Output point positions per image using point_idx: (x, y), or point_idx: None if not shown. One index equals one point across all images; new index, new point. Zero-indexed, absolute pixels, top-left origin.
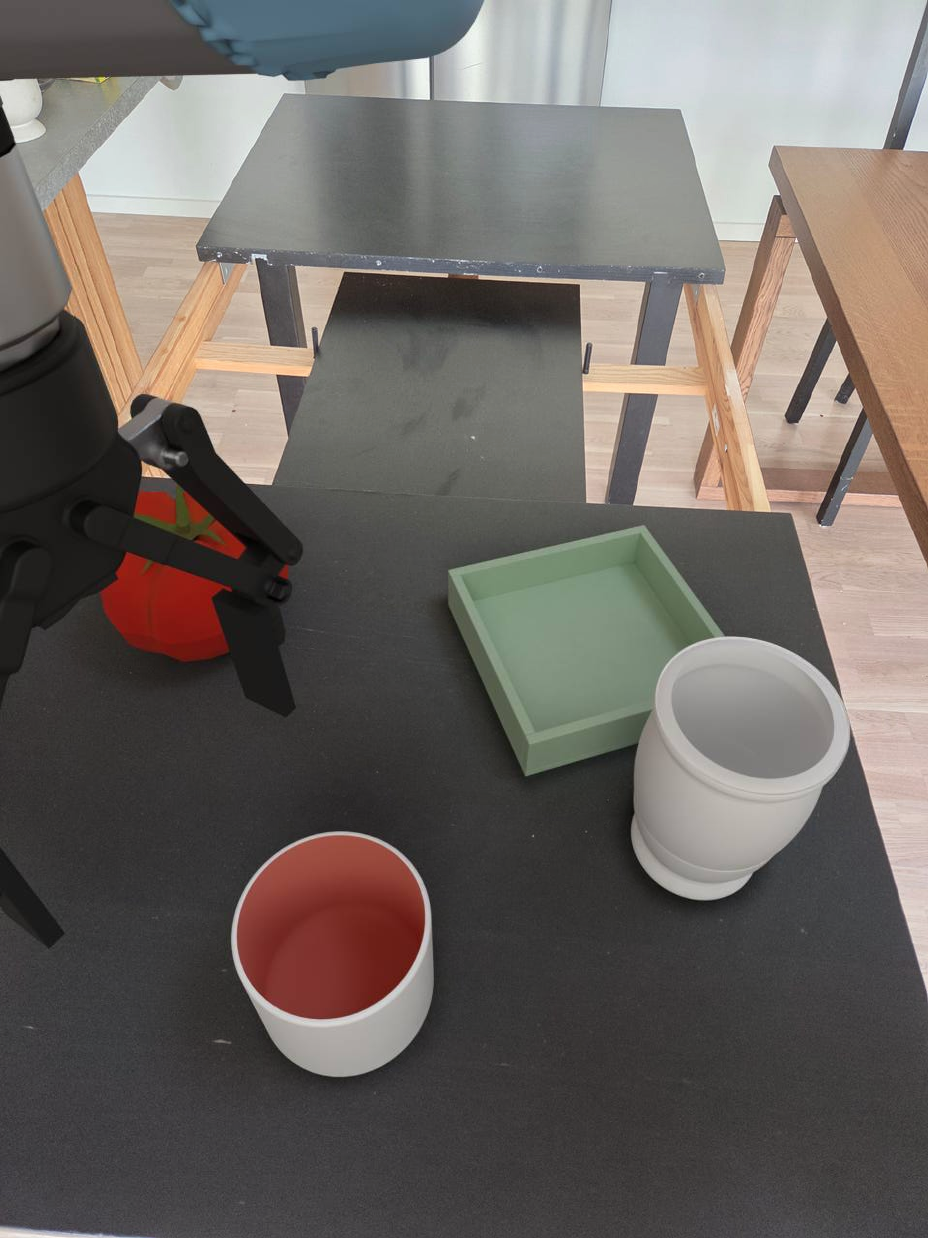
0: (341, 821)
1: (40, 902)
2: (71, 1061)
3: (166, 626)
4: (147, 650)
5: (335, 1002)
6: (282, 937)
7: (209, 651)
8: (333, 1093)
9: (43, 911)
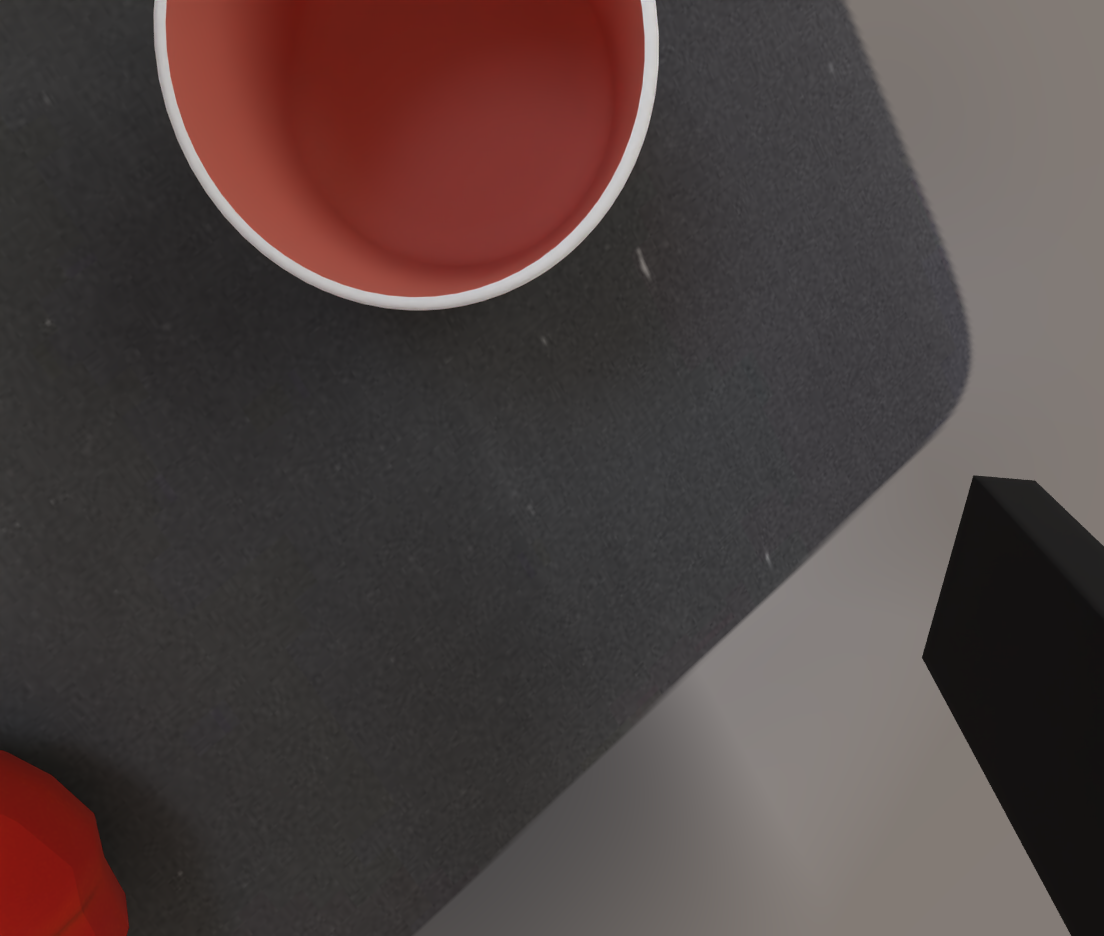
0: (186, 323)
1: (1061, 573)
2: (780, 465)
3: (34, 906)
4: (118, 887)
5: (491, 111)
6: (449, 266)
7: (34, 789)
8: None
9: (1054, 549)
